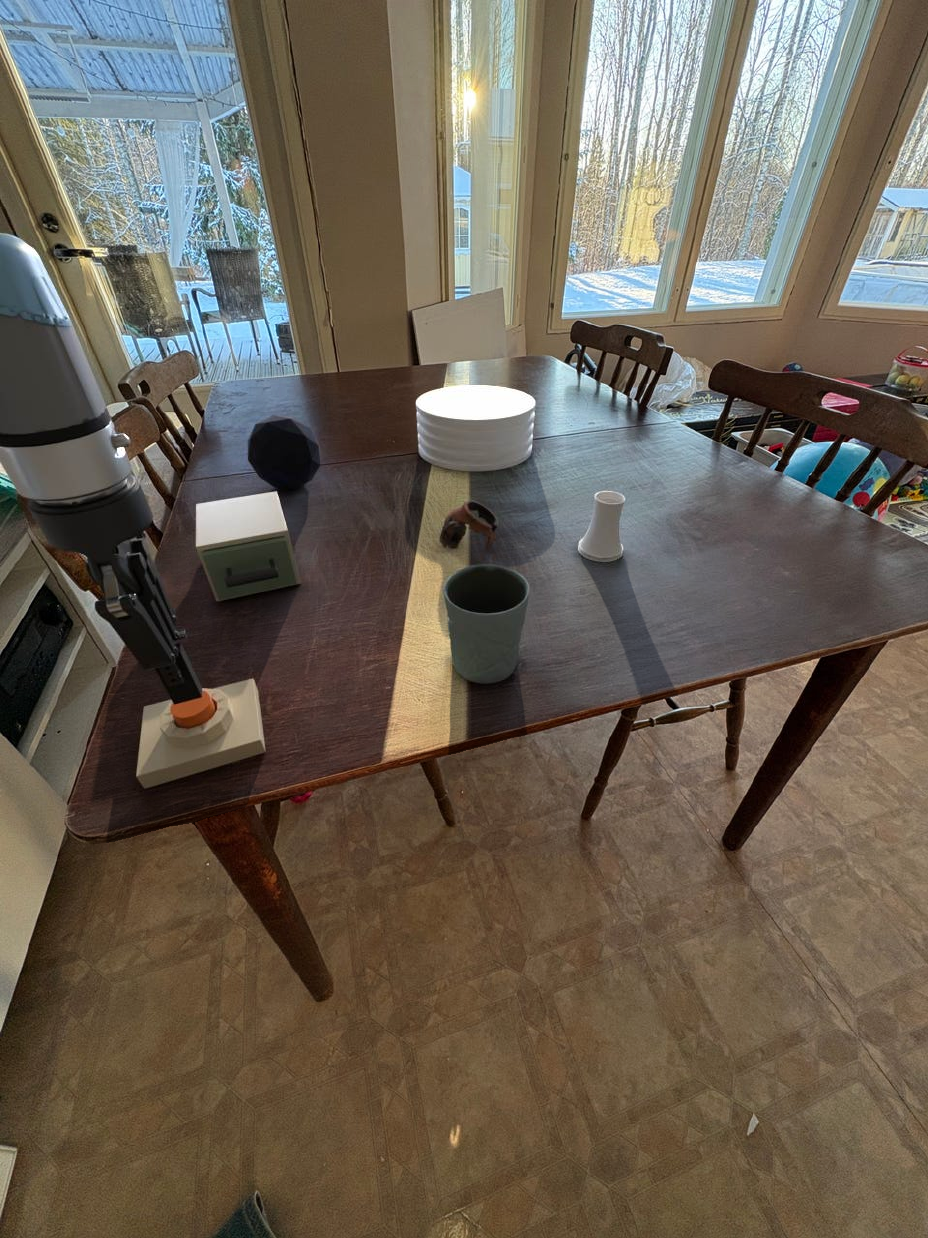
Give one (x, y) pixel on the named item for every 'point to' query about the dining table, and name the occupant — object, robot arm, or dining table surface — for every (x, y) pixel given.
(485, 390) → the plate stack
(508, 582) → the green cup
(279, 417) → the decorative orb
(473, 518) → the brown curved piece
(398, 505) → the dining table surface
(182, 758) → the control block
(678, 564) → the dining table surface
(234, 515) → the white drawer cabinet
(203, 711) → the button
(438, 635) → the dining table surface
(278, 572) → the green drawer
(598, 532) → the vase
